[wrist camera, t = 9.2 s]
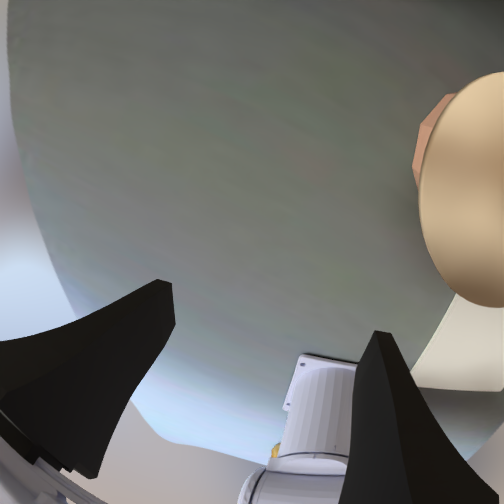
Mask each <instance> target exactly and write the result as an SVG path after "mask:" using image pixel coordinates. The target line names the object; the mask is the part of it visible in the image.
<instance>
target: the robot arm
mask: <svg viewBox="0 0 504 504" xmlns="http://www.w3.org/2000/svg"><path fill="white" fill-rule="evenodd" d="M175 325H176V323H175V313H174V304H173V293H172V283H170V282H166V281H163V280H159V279H156V280H154V281H152V282H150V283H148V284H146V285H144V286H143V287H141V288H139V289H137V290H135V291H133V292H132V293H130V294H128V295H126V296H124V297H122V298H121V299H119V300H117V301H115V302H113V303H111V304H109V305H108V306H105V307H103V308H101V309H99V310H97V311H95V312H93V313H91V314H89V315H87V316H85V317H83V318H81V319H78V320H76V321H74V322H71V323H68V324H66V325H64V326H61V327H58V328H55V329H52V330H49V331H45V332H42V333H39V334H35V335H31V336H27V337H23V338H18V339H13V340H7V341H0V504H68V503H67V502H66V497H67V498H69V499H70V500H71V501H73V502H75V503H76V504H107V503H105V502H103V501H102V500H100V499H99V498H97V497H95V496H94V495H92V494H91V493H89V492H87V491H86V490H84V489H83V488H81V487H80V486H78V485H77V484H75V483H74V482H72V481H71V480H69V479H68V478H67V477H65V476H64V475H62V474H61V473H60V470H61V469H62V468H64V469H65V470H66V471H68V472H69V473H71V472H72V470H73V469H74V470H75V471H77V472H78V473H80V474H81V475H83V476H84V477H86V478H88V479H94V478H97V476H98V473H99V470H100V467H101V463H102V461H103V458H104V455H105V452H106V449H107V447H108V444H109V442H110V439H111V437H112V435H113V432H114V430H115V428H116V426H117V424H118V421H119V419H120V417H121V415H122V413H123V411H124V409H125V407H126V405H127V403H128V401H129V399H130V397H131V396H132V394H133V392H134V391H135V389H136V388H137V386H138V385H139V383H140V382H141V380H142V379H143V377H144V376H145V374H146V373H147V372H148V370H149V369H150V367H151V366H152V364H153V363H154V361H155V360H156V358H157V357H158V355H159V354H160V352H161V351H162V349H163V348H164V346H165V345H166V343H167V341H168V339H169V337H170V335H171V333H172V331H173V329H174V327H175ZM283 409H284V410H285V411H289V413H288V417H287V421H286V425H285V429H284V433H283V437H282V440H281V444H280V448H279V451H278V455H277V458H272V457H270V458H269V461H268V464H267V468H266V467H260V468H258V469H257V470H255V472H253V473H252V474H251V475H250V476H249V477H248V478H247V480H246V481H245V483H244V485H243V487H242V489H241V492H240V495H239V498H238V502H237V504H499V495H498V494H497V493H496V492H495V491H494V490H493V489H492V488H491V487H490V486H488V484H486V483H485V482H484V481H483V480H482V479H481V478H480V477H479V476H478V475H477V474H476V472H475V471H474V470H473V469H472V468H471V467H470V466H469V465H468V464H467V462H466V461H465V460H464V459H463V457H462V456H461V455H460V454H459V452H458V451H457V450H456V448H455V447H454V446H453V444H452V443H451V442H450V440H449V439H448V437H447V436H446V435H445V433H444V432H443V430H442V428H441V427H440V425H439V424H438V422H437V421H436V419H435V418H434V416H433V414H432V413H431V411H430V409H429V407H428V406H427V404H426V402H425V400H424V398H423V397H422V395H421V393H420V391H419V389H418V387H417V385H416V383H415V381H414V379H413V377H412V375H411V373H410V371H409V369H408V367H407V365H406V363H405V361H404V359H403V356H402V354H401V352H400V350H399V348H398V346H397V344H396V342H395V340H394V338H393V336H392V334H391V333H387V332H381V331H376V330H375V331H374V333H373V335H372V337H371V339H370V342H369V344H368V346H367V348H366V350H365V352H364V354H363V356H362V358H361V360H360V362H359V363H358V365H357V364H351V363H346V362H340V361H335V360H330V359H325V358H320V357H315V356H310V355H305V354H303V355H301V356H300V357H299V359H298V362H297V366H296V369H295V372H294V375H293V378H292V381H291V384H290V387H289V390H288V393H287V396H286V399H285V402H284V405H283Z"/></svg>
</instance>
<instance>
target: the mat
mask: <svg viewBox="0 0 504 504" xmlns="http://www.w3.org/2000/svg"><path fill="white" fill-rule="evenodd" d="M410 373H411V375H412V377H413V379H414V381H415V383H416V385H417V387H425V388H436V389H449V390H466V391H501V390H502V389H503V388H504V308H489V307H484V306H479V305H476V304H474V303H471V302H469V301H467V300H466V299H464V298H462V297H461V296H459V295H458V294H457V293H456V295H455V297H454V299H453V301H452V302H451V304H450V306H449V308H448V310H447V312H446V314H445V316H444V317H443V319H442V321H441V323H440V325H439V326H438V328H437V330H436V332H435V333H434V335H433V337H432V338H431V340H430V342H429V343H428V345H427V347H426V348H425V350H424V351H423V353H422V355H421V356H420V358H419V359H418V361H417V362H416V364H415V365H414V367H413V368H412V370H411V371H410Z"/></svg>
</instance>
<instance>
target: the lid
mask: <svg viewBox="0 0 504 504" xmlns="http://www.w3.org/2000/svg"><path fill="white" fill-rule="evenodd" d="M418 205H419V218H420V223H421V228H422V234H423V237H424V240H425V243H426V246H427V249H428V251H429V253H430V255H431V258H432V260H433V262H434V264H435V266H436V268H437V270H438V272H439V273H440V275H441V276H442V278H443V280H444V281H445V282H446V283H447V284H448V285H449V287H450V288H451V289H452V290H453V291H455V292H456V293H457V294H458V295H459V296H461V297H462V298H464V299H466V300H467V301H469V302H471V303H474V304H476V305H479V306H484V307H489V308H504V72H499V73H491V74H488V75H485V76H482V77H479V78H477V79H475V80H474V81H472V82H470V83H469V84H467V85H466V86H464V87H463V88H462V89H461V90H460V91H459V92H457V93H456V94H455V95H454V97H453V98H452V99H451V100H450V101H449V102H448V104H447V105H446V106H445V108H444V109H443V111H442V113H441V114H440V116H439V117H438V119H437V121H436V123H435V125H434V127H433V129H432V131H431V134H430V136H429V139H428V142H427V145H426V148H425V151H424V156H423V160H422V164H421V170H420V178H419V191H418Z"/></svg>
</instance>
